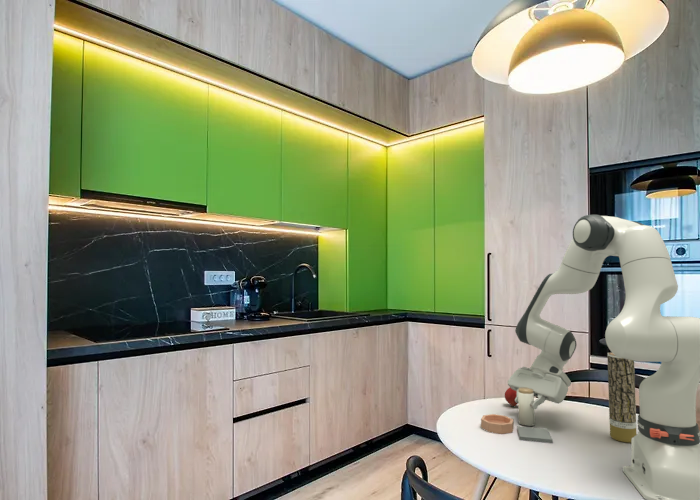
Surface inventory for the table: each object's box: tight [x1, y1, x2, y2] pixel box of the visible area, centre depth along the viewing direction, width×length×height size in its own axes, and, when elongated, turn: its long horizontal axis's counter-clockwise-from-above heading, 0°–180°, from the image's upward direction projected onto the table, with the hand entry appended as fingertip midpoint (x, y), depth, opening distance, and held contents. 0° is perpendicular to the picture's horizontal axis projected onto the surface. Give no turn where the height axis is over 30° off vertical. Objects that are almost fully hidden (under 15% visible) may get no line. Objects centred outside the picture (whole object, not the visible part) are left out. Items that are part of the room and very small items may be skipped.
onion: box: [504, 386, 518, 407], centre depth 162 cm, size 6×6×8 cm
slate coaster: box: [516, 426, 554, 444], centre depth 133 cm, size 9×9×1 cm
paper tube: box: [606, 352, 638, 444], centre depth 131 cm, size 7×7×25 cm
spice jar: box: [517, 387, 535, 427], centre depth 143 cm, size 5×5×11 cm
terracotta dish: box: [480, 413, 515, 435], centre depth 139 cm, size 9×9×3 cm
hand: (524, 405), depth 143 cm, fingers closed on spice jar, 5 cm apart
